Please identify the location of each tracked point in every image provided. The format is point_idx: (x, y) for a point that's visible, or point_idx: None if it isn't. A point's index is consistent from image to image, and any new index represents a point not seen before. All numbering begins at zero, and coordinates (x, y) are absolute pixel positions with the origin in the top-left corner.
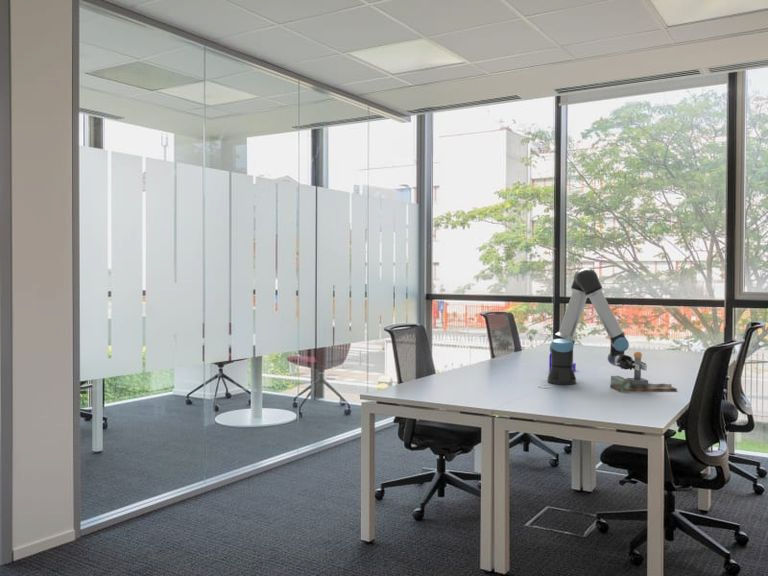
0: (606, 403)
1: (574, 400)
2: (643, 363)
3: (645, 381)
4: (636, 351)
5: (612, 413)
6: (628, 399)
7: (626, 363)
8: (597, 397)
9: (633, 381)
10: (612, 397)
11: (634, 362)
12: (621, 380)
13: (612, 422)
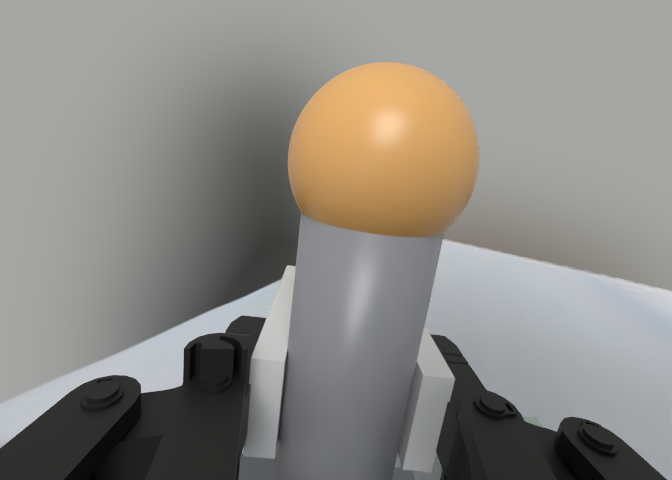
0: (523, 309)
1: (651, 345)
2: (129, 407)
3: (258, 466)
4: (426, 71)
5: (489, 266)
6: (453, 332)
7: (609, 437)
8: (594, 371)
9: (403, 478)
10: (526, 364)
11: (420, 338)
12: (532, 421)
13: (483, 248)
